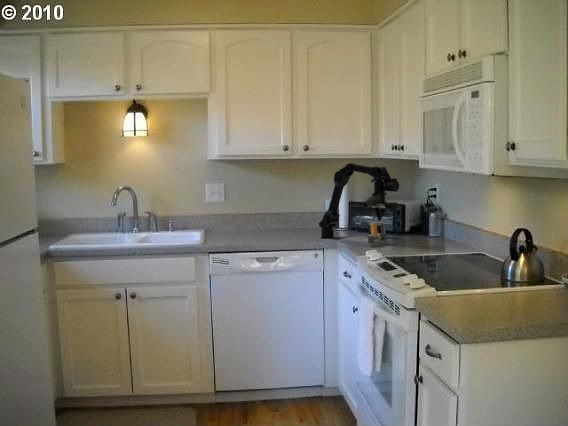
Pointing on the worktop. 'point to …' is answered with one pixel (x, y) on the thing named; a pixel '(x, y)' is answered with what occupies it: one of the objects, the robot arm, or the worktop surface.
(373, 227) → the breaker
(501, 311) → the worktop surface
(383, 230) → the electrical switch
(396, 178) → the robot arm
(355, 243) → the breaker panel
